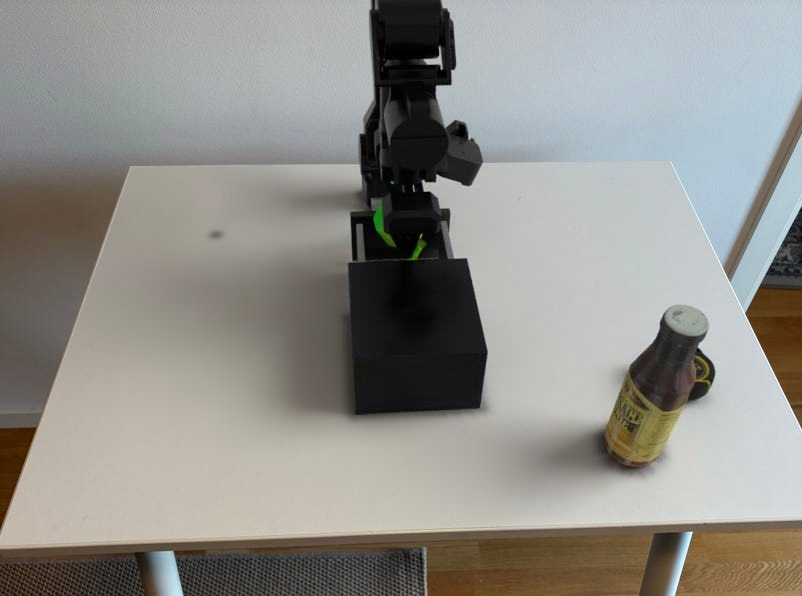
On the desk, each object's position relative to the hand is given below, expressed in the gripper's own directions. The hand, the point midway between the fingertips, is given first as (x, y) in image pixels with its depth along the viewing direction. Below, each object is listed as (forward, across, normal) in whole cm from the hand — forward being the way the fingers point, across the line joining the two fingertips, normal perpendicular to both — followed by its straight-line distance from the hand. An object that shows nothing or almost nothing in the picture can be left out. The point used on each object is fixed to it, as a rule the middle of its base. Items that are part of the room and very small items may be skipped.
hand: (404, 236), depth 91 cm
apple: (+1, 0, 0) cm, 1 cm away
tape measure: (+9, -18, -30) cm, 37 cm away
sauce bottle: (+9, -28, -23) cm, 37 cm away
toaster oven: (+9, -13, 0) cm, 16 cm away
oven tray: (+8, +2, 0) cm, 8 cm away
